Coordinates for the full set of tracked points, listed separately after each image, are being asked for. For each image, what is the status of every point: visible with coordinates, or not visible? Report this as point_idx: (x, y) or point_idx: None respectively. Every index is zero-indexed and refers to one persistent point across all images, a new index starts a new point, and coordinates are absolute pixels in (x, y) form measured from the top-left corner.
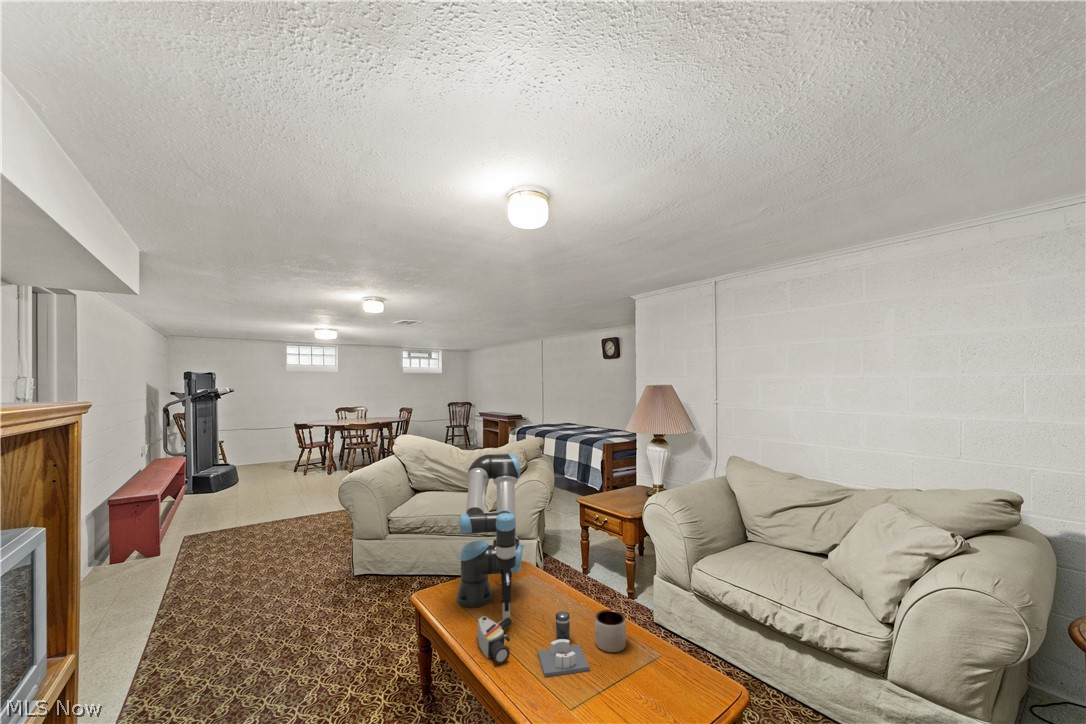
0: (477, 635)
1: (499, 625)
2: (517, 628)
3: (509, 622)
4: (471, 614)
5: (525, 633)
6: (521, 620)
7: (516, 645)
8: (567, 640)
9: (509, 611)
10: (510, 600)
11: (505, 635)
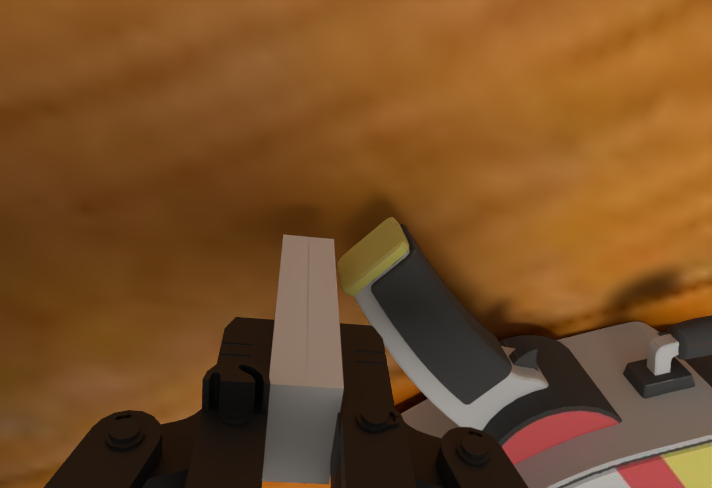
0: None
1: (546, 419)
2: (386, 128)
3: (432, 270)
4: (7, 477)
5: (519, 65)
6: (229, 34)
7: (662, 208)
8: None
9: (334, 294)
10: (516, 475)
11: (663, 356)
